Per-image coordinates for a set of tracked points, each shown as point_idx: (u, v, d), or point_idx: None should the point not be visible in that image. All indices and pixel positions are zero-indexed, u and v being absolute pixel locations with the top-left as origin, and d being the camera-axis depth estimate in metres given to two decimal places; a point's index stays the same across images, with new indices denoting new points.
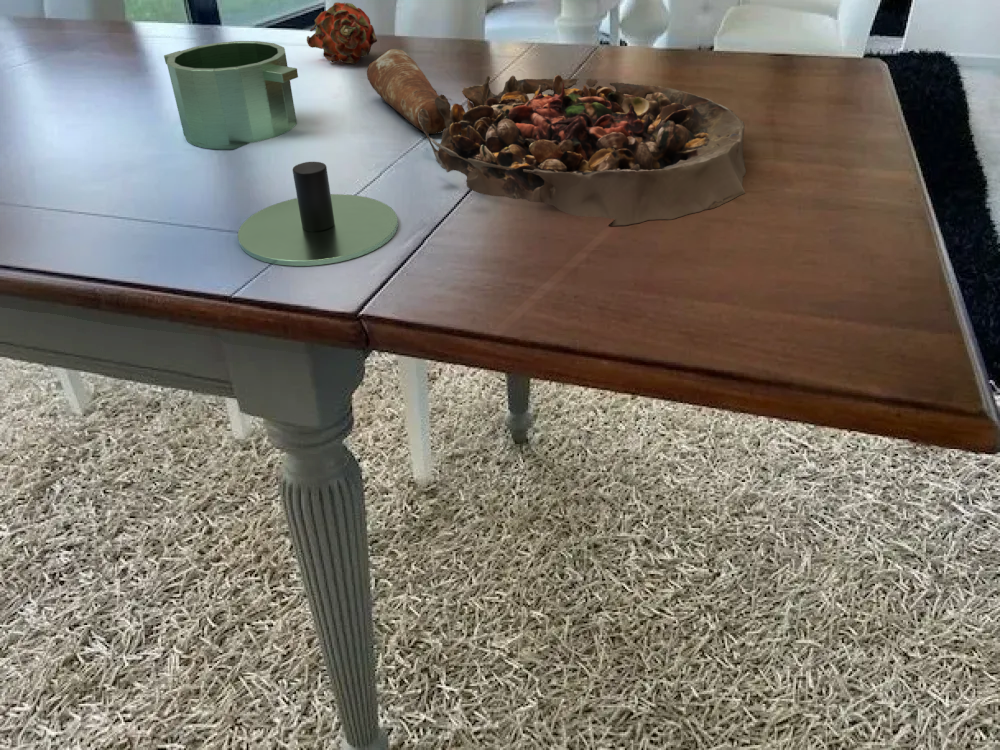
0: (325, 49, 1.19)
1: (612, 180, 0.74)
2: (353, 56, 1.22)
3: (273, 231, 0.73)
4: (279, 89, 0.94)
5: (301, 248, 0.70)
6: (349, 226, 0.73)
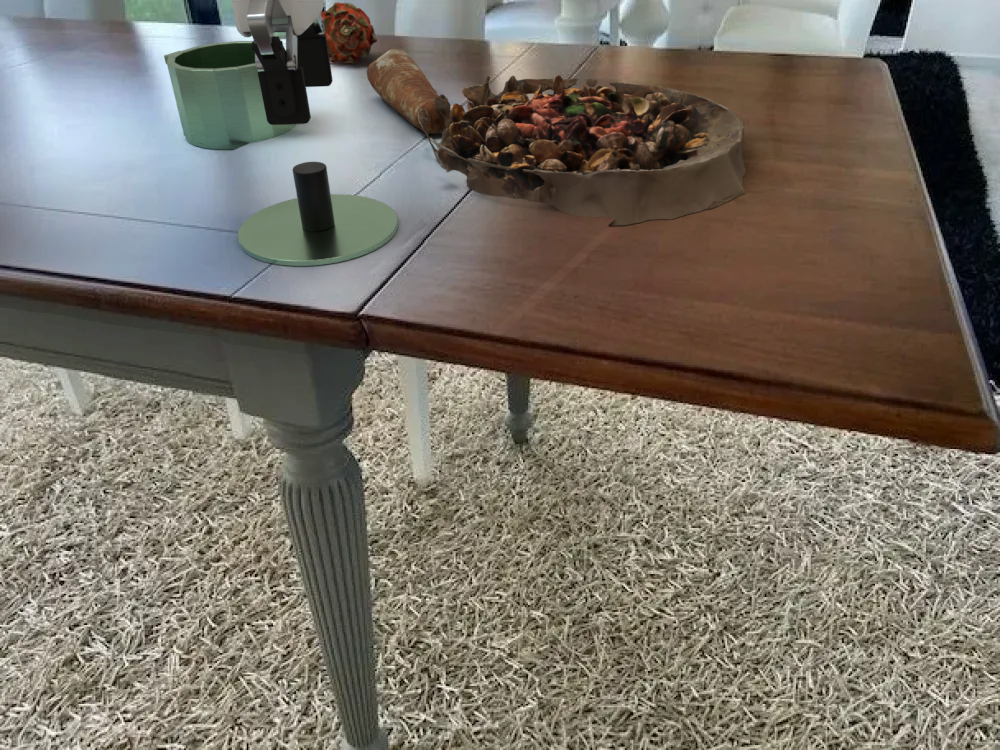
0: None
1: (612, 180, 0.74)
2: (353, 56, 1.22)
3: (273, 231, 0.73)
4: None
5: (301, 248, 0.70)
6: (349, 226, 0.73)
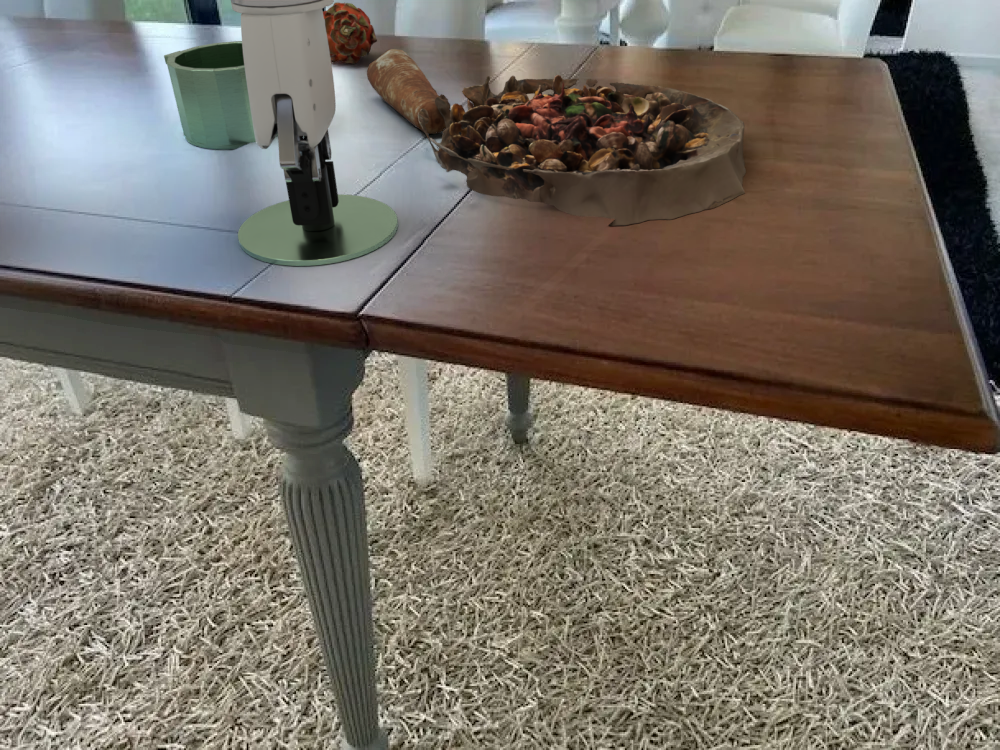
0: None
1: (612, 180, 0.74)
2: (353, 56, 1.22)
3: (273, 231, 0.73)
4: None
5: (301, 248, 0.70)
6: (349, 226, 0.73)
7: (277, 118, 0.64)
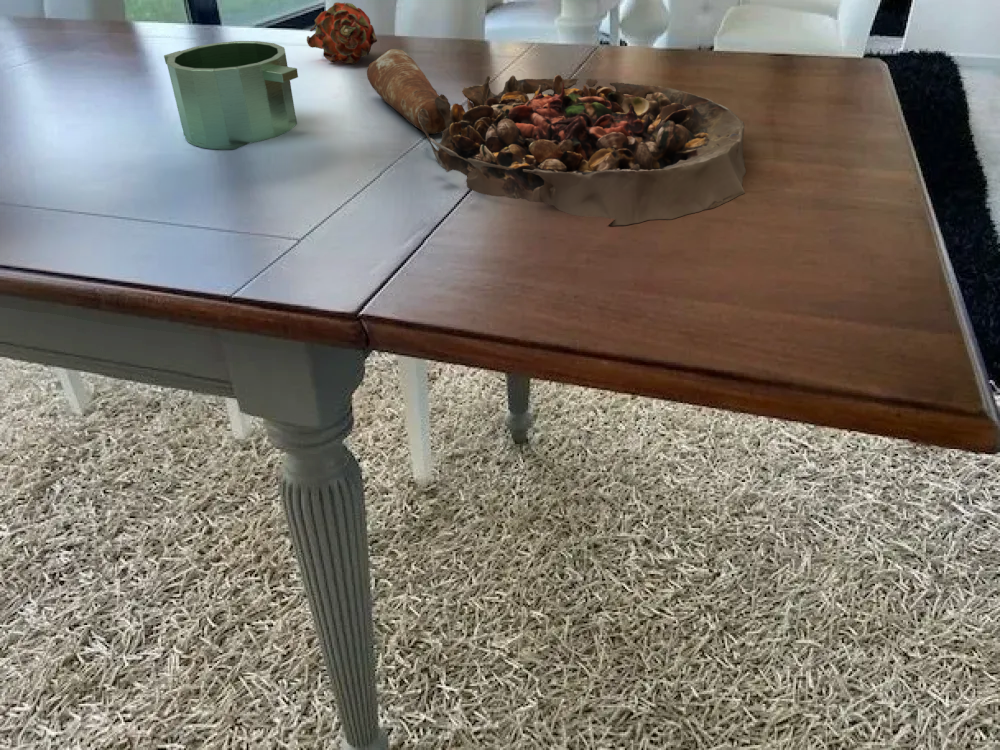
0: (325, 49, 1.19)
1: (612, 180, 0.74)
2: (353, 56, 1.22)
3: None
4: (279, 89, 0.94)
5: None
6: None
7: None
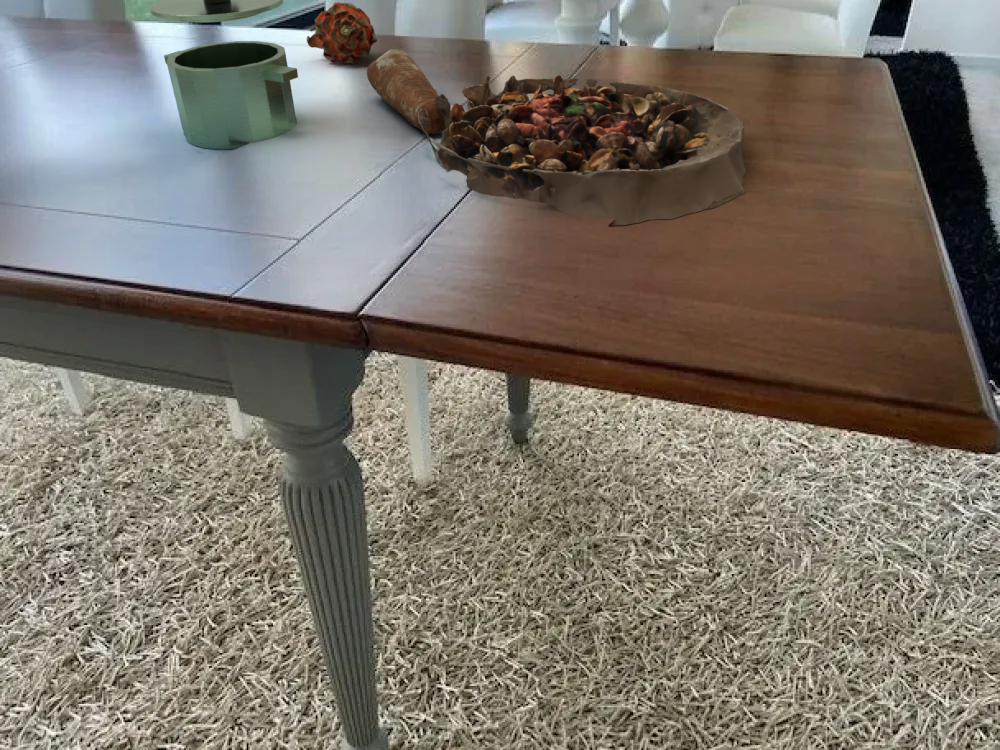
0: (325, 49, 1.19)
1: (612, 180, 0.74)
2: (353, 56, 1.22)
3: (179, 4, 0.90)
4: (279, 89, 0.94)
5: (199, 10, 0.87)
6: (242, 1, 0.90)
7: None
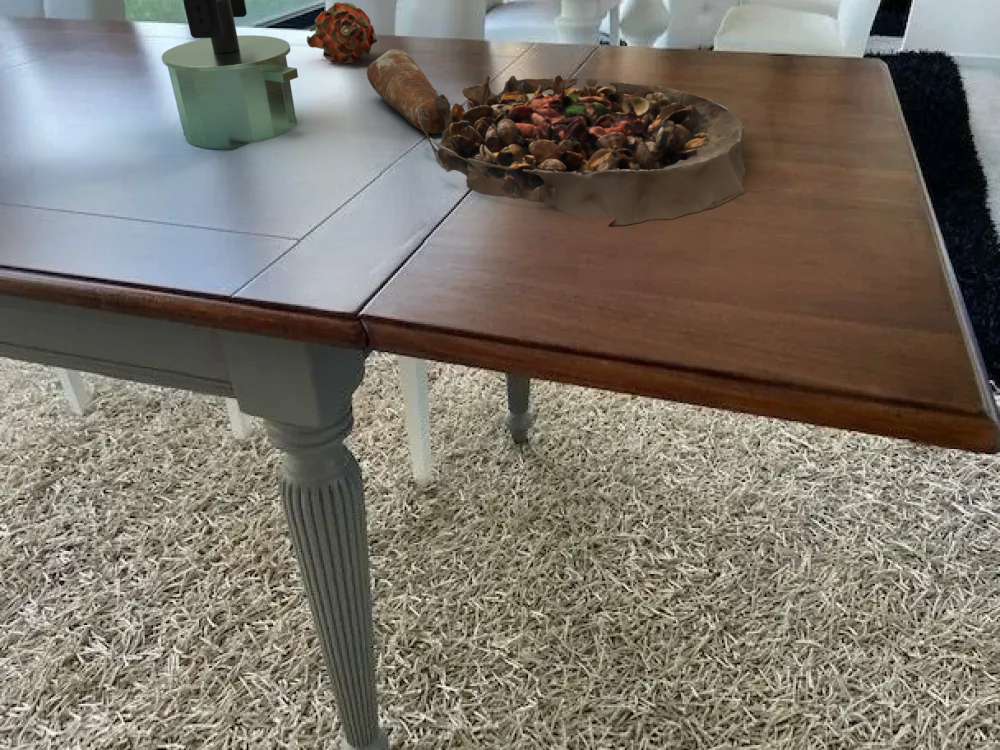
0: (325, 49, 1.19)
1: (612, 180, 0.74)
2: (353, 56, 1.22)
3: (190, 53, 0.93)
4: (279, 89, 0.94)
5: (209, 61, 0.90)
6: (250, 50, 0.93)
7: None
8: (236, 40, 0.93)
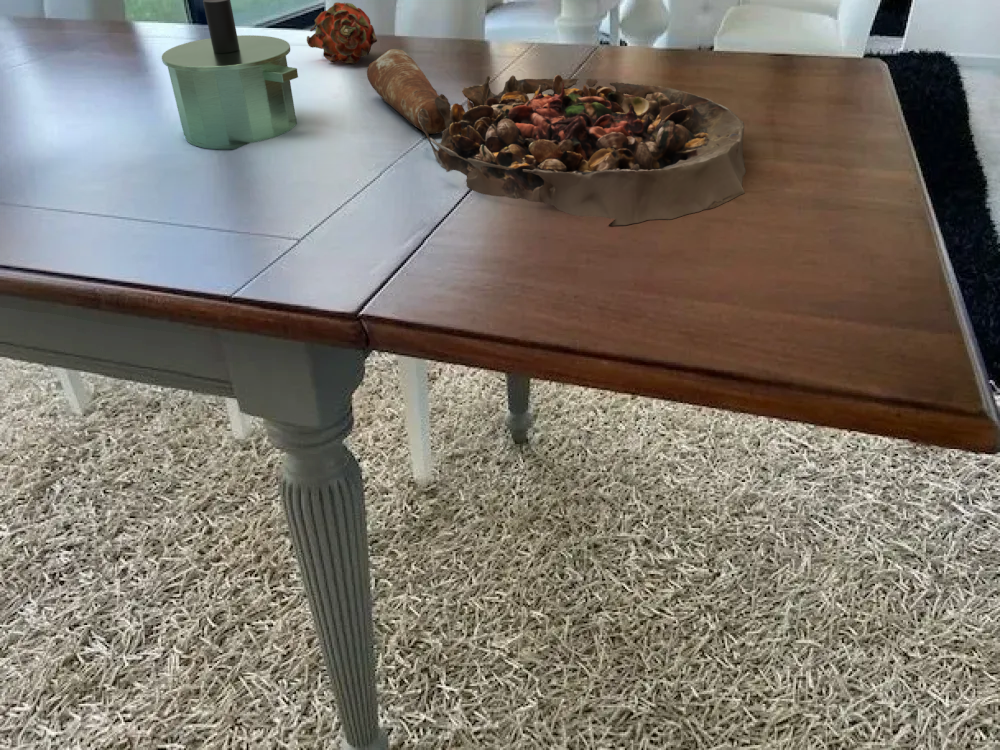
0: (325, 49, 1.19)
1: (612, 180, 0.74)
2: (353, 56, 1.22)
3: (190, 53, 0.93)
4: (279, 89, 0.94)
5: (209, 61, 0.90)
6: (250, 50, 0.93)
7: None
8: (236, 40, 0.93)
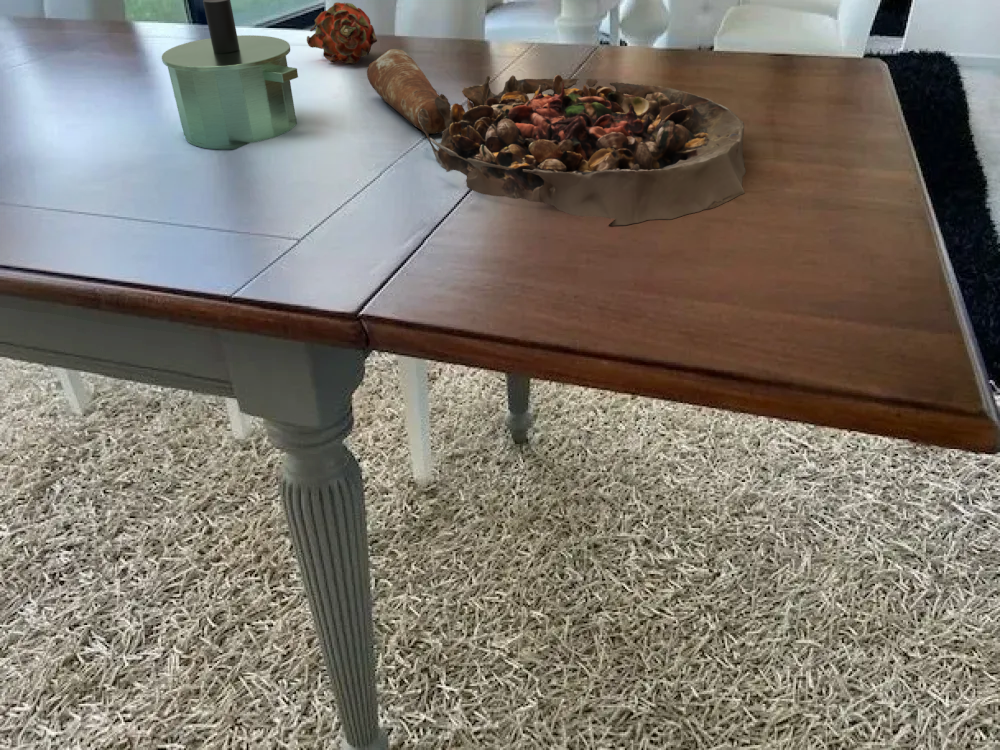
0: (325, 49, 1.19)
1: (612, 180, 0.74)
2: (353, 56, 1.22)
3: (190, 53, 0.93)
4: (279, 89, 0.94)
5: (209, 61, 0.90)
6: (250, 50, 0.93)
7: None
8: (236, 40, 0.93)
